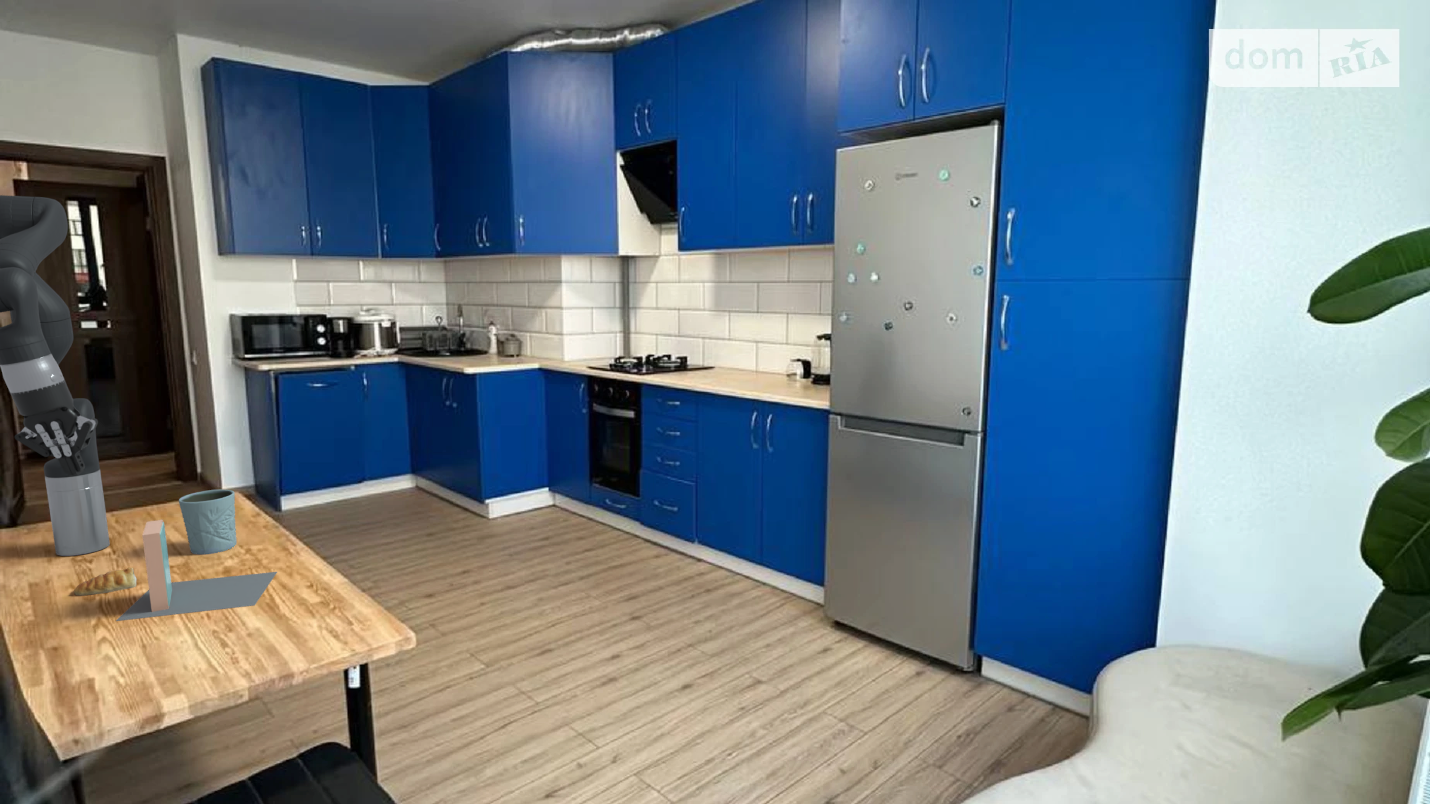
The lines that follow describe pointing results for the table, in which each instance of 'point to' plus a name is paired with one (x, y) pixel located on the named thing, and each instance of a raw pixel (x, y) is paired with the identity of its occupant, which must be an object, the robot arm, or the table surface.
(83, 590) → the pastry
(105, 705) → the table surface
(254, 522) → the table surface
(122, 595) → the table surface
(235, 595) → the mat
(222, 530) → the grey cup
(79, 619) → the table surface
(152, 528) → the tile
